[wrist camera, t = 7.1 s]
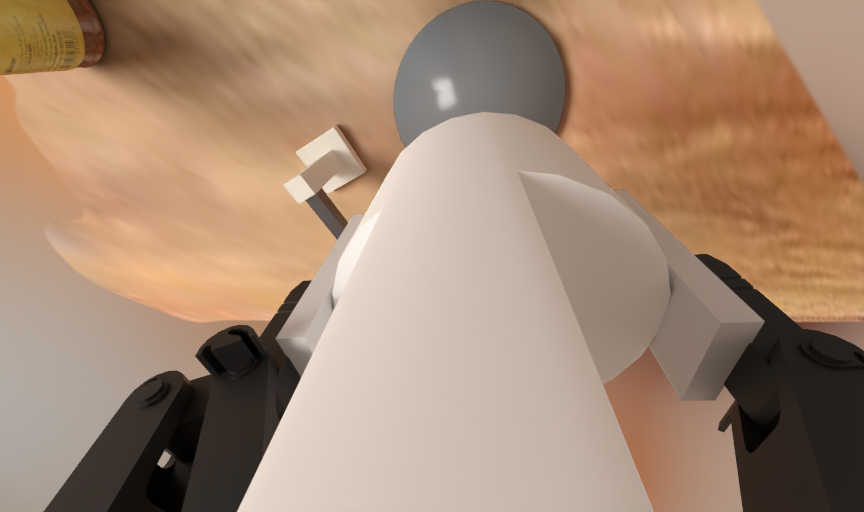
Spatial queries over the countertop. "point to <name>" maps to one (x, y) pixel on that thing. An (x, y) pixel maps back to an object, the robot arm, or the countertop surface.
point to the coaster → (479, 69)
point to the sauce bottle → (48, 36)
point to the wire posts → (325, 165)
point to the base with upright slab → (475, 338)
